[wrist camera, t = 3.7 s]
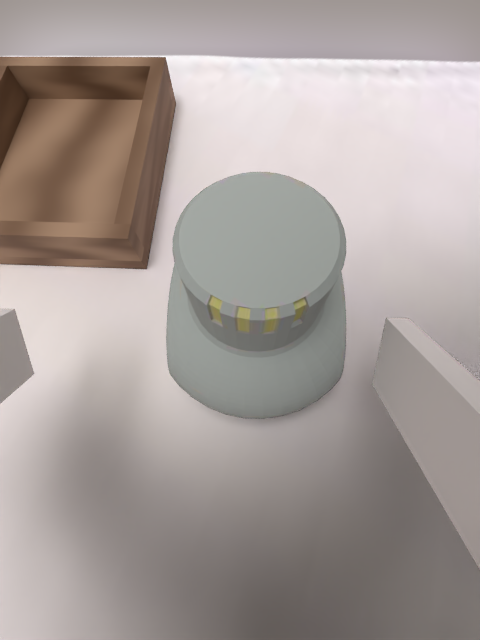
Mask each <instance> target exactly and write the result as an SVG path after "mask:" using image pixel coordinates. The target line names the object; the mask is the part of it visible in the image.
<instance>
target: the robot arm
mask: <svg viewBox="0 0 480 640" xmlns="http://www.w3.org/2000/svg"><path fill="white" fill-rule="evenodd" d="M32 375H34V372H33V368H32V365H31V362H30V358H29V355H28V352H27V349H26V345H25V342H24V339H23V335H22V332H21V329H20V325H19V322H18V319H17V315H16V312H15V309H0V403H2V402H3V401H4V400H5V399H6V398H7V397H8V396H10V395H11V394H12V393H13V392H14V391H15V390H16V389H18V388H19V387H20V386H21V385H22V384H23V383H24V382H26V381H27V380H28V379H29V378H30V377H31V376H32ZM372 385H373V387H374V389H375V391H376V392H377V394H378V396H379V397H380V399H381V401H382V403H383V404H384V406H385V408H386V409H387V411H388V413H389V415H390V416H391V418H392V420H393V422H394V423H395V425H396V427H397V428H398V430H399V432H400V434H401V435H402V437H403V439H404V440H405V442H406V444H407V446H408V447H409V449H410V451H411V452H412V454H413V456H414V458H415V459H416V461H417V463H418V465H419V466H420V468H421V470H422V471H423V473H424V475H425V477H426V478H427V480H428V482H429V483H430V485H431V487H432V489H433V490H434V492H435V494H436V496H437V497H438V499H439V501H440V502H441V504H442V506H443V508H444V509H445V511H446V513H447V514H448V516H449V518H450V520H451V521H452V523H453V525H454V527H455V528H456V530H457V532H458V533H459V535H460V537H461V539H462V540H463V542H464V544H465V545H466V547H467V549H468V551H469V552H470V554H471V556H472V558H473V559H474V561H475V563H476V564H477V566H478V568H479V570H480V381H479V380H478V379H477V378H476V377H475V376H474V375H473V374H471V373H470V372H469V371H468V370H467V369H466V368H465V367H464V366H462V365H461V364H460V363H459V362H458V361H457V360H456V359H454V358H453V357H452V356H451V355H450V354H449V353H448V352H447V351H445V350H444V349H443V348H442V347H441V346H440V345H439V344H437V343H436V342H435V341H434V340H433V339H432V338H431V337H430V336H428V335H427V334H426V333H425V332H424V331H423V330H422V329H420V328H419V327H418V326H417V325H416V324H415V323H414V322H413V321H411V320H410V319H409V318H386V321H385V326H384V330H383V335H382V340H381V345H380V349H379V354H378V359H377V363H376V368H375V373H374V378H373V382H372Z"/></svg>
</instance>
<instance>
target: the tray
mask: <svg viewBox="0 0 480 640" xmlns="http://www.w3.org/2000/svg"><path fill="white" fill-rule="evenodd" d="M175 106H176V102H175V97H174V93H173V88H172V84H171V79H170V75H169V71H168V66H167V62H166V57H0V264H20V265H48V266H77V267H106V268H135V269H147V263H148V258H149V252H150V246H151V241H152V235H153V229H154V224H155V218H156V213H157V207H158V201H159V196H160V190H161V184H162V179H163V173H164V168H165V162H166V156H167V151H168V145H169V139H170V134H171V128H172V123H173V117H174V111H175Z"/></svg>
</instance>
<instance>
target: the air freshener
mask: <svg viewBox="0 0 480 640" xmlns="http://www.w3.org/2000/svg"><path fill="white" fill-rule="evenodd" d="M173 256H174V262H175V264H174V268H173V273H172V278H171V285H170V292H169V301H168V313H167V336H166V343H167V361H168V368H169V372H170V375H171V376H172V377H173V379H174V380H175V381H176V383H177V384H178V385H179V386H180V387H181V388H182V389H183V390H184V391H186V392H187V393H188V394H189V395H190V396H191V397H192V398H194V399H196V400H197V401H199V402H200V403H202V404H204V405H205V406H207V407H209V408H211V409H214V410H216V411H219V412H221V413H224V414H227V415H231V416H236V417H241V418H255V419H265V418H272V417H279V416H283V415H286V414H289V413H292V412H296V411H299V410H301V409H303V408H304V407H306V406H308V405H310V404H312V403H314V402H316V401H317V400H318V399H320V398H321V397H322V396H323V395H325V394H326V393H327V392H328V391H330V390H331V389H332V388H333V386H334V385H335V384H336V383H337V382H338V381H339V379H340V377H341V375H342V371H343V366H344V359H345V347H346V309H345V295H344V286H343V279H342V273H341V270H342V268H343V265H344V261H345V256H346V238H345V233H344V228H343V225H342V223H341V220H340V218H339V216H338V214H337V213H336V211H335V210H334V208H333V206H332V205H331V204H330V203H329V202H328V201H327V200H326V199H325V197H323V196H322V195H321V194H320V193H319V192H317V191H316V190H315V189H313V188H312V187H310V186H308V185H307V184H305V183H303V182H301V181H299V180H296V179H294V178H291V177H289V176H285V175H281V174H277V173H270V172H249V173H241V174H238V175H234V176H230V177H228V178H225V179H223V180H220V181H218V182H215V183H214V184H212V185H210V186H209V187H207V188H205V189H204V190H203V191H201V192H200V193H199V194H198V195H196V196H195V197H194V198H193V199H192V200H191V202H190V203H189V204H188V205H187V206H186V208H185V209H184V211H183V212H182V214H181V215H180V218H179V220H178V222H177V225H176V227H175V232H174V236H173Z"/></svg>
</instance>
